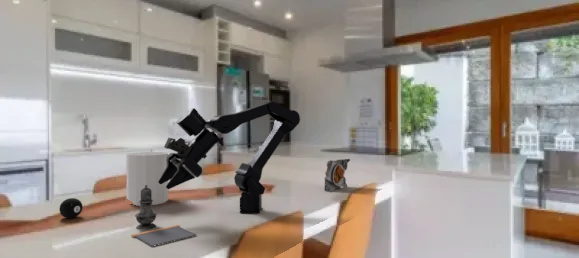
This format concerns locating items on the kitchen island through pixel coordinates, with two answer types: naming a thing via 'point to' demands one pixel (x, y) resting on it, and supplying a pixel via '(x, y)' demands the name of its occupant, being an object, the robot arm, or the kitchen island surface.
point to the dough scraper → (163, 235)
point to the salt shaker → (146, 211)
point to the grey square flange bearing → (335, 174)
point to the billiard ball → (71, 208)
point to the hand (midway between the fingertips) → (163, 185)
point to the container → (146, 176)
